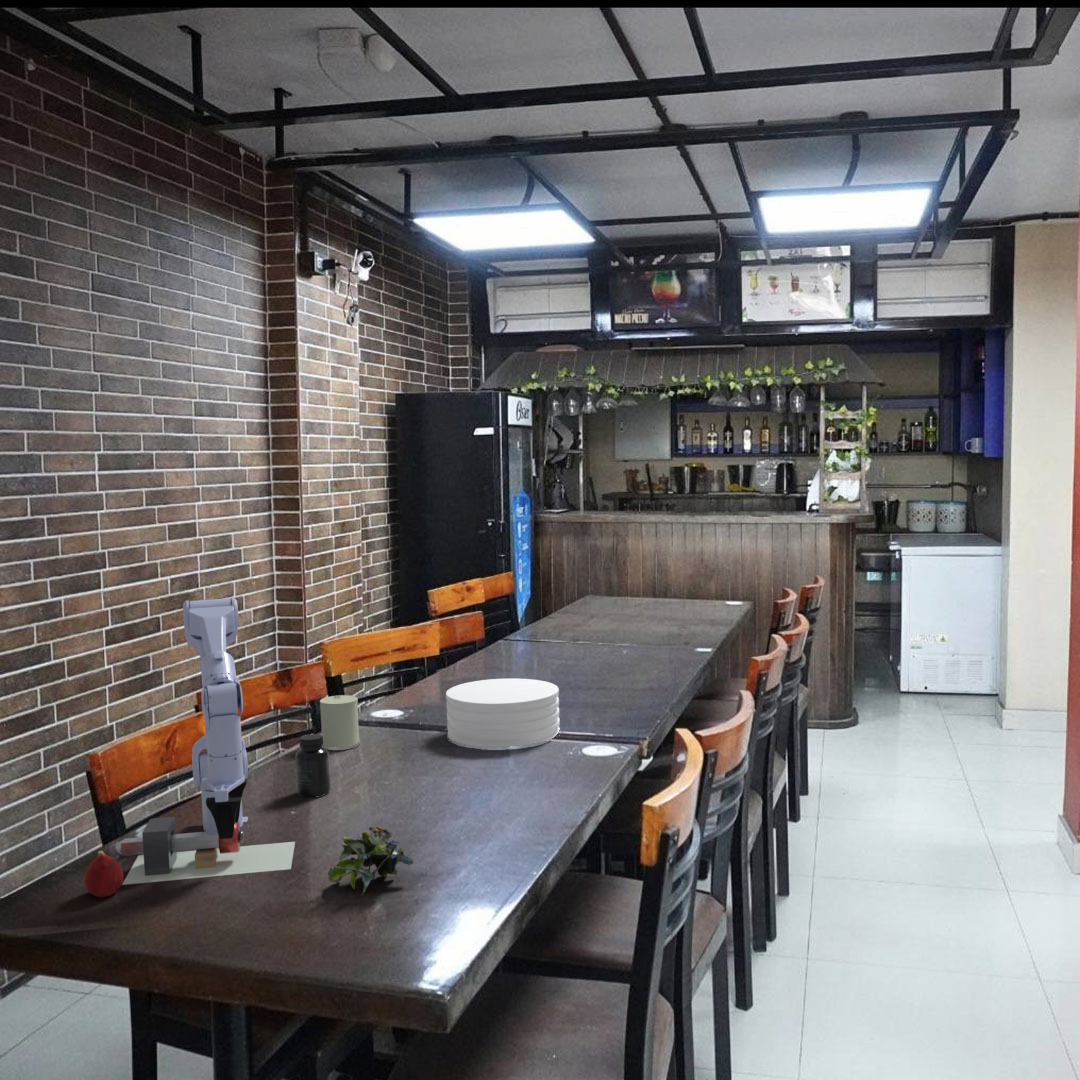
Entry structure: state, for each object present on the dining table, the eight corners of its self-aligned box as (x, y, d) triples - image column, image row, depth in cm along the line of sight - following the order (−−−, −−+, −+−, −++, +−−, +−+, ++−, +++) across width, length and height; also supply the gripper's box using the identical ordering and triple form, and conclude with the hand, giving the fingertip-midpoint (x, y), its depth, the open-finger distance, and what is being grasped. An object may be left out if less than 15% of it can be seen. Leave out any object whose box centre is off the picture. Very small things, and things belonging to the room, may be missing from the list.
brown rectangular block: (199, 858, 183) (199, 844, 183) (217, 856, 184) (216, 842, 184) (195, 868, 178) (194, 854, 178) (213, 867, 179) (213, 853, 179)
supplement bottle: (314, 786, 226) (312, 731, 225) (337, 791, 222) (334, 735, 221) (290, 795, 220) (287, 738, 219) (312, 800, 216) (310, 743, 215)
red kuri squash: (129, 891, 172) (126, 843, 172) (117, 906, 167) (113, 857, 166) (93, 892, 172) (90, 845, 172) (79, 907, 166) (76, 858, 166)
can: (356, 739, 263) (354, 691, 262) (362, 748, 254) (360, 699, 253) (319, 743, 260) (317, 695, 259) (324, 752, 251) (321, 703, 250)
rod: (120, 856, 181) (118, 828, 181) (245, 845, 184) (244, 817, 184) (113, 867, 176) (111, 838, 176) (242, 856, 180) (240, 827, 179)
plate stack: (582, 737, 259) (581, 691, 258) (485, 758, 243) (483, 709, 242) (520, 715, 282) (518, 673, 281) (427, 733, 266) (425, 689, 266)
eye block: (152, 860, 183) (150, 818, 182) (176, 858, 184) (174, 816, 183) (144, 875, 176) (142, 832, 175) (169, 873, 177) (167, 830, 176)
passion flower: (383, 908, 175) (424, 849, 176) (363, 925, 165) (406, 862, 165) (331, 867, 178) (371, 808, 178) (307, 881, 167) (350, 818, 167)
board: (138, 861, 185) (138, 855, 185) (295, 847, 190) (295, 841, 190) (122, 890, 173) (122, 884, 173) (291, 874, 177) (290, 868, 177)
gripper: (206, 743, 187) (210, 818, 188) (194, 766, 172) (198, 847, 173) (247, 740, 188) (251, 814, 189) (238, 763, 174) (242, 843, 175)
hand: (229, 830), depth 181 cm, fingers open, 7 cm apart
